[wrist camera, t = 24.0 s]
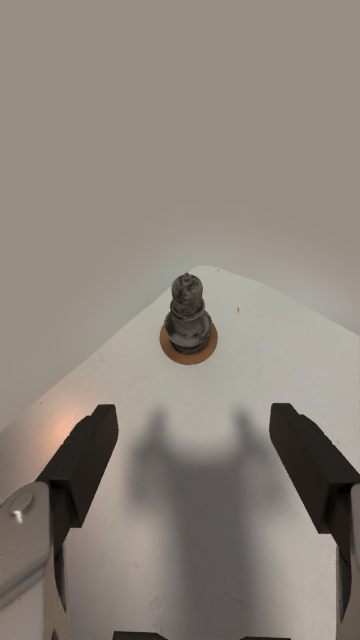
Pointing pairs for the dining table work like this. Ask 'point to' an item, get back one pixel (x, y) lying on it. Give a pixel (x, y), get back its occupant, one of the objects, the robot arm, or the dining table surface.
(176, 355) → the cork coaster
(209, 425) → the dining table surface
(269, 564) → the dining table surface
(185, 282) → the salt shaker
